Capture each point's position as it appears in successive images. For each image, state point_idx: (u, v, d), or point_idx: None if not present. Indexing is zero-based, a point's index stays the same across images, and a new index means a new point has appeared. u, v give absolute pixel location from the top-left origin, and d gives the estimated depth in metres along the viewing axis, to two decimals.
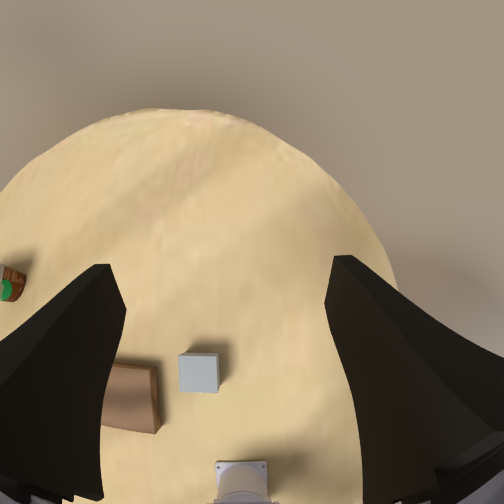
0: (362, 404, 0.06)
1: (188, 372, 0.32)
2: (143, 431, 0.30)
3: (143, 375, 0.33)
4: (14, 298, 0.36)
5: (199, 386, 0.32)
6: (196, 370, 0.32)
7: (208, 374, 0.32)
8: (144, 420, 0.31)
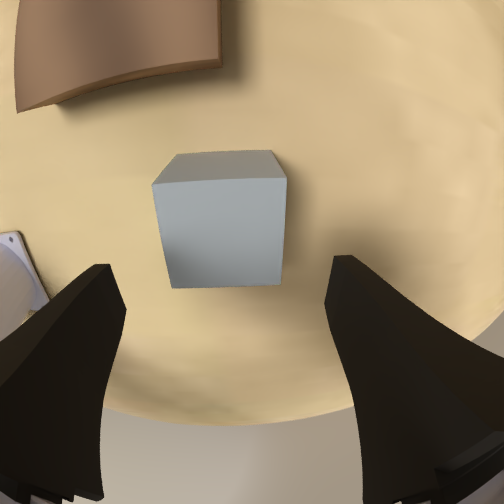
0: (362, 404, 0.06)
1: (227, 212, 0.10)
2: (17, 79, 0.07)
3: (194, 39, 0.08)
4: None
5: (181, 244, 0.11)
6: (236, 236, 0.11)
7: (224, 268, 0.12)
8: (43, 73, 0.07)
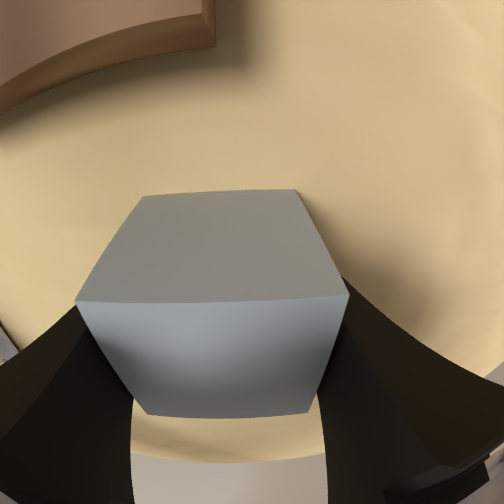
0: (326, 411, 0.06)
1: (224, 351, 0.05)
2: None
3: None
4: None
5: (149, 380, 0.06)
6: (242, 377, 0.06)
7: (222, 405, 0.07)
8: None
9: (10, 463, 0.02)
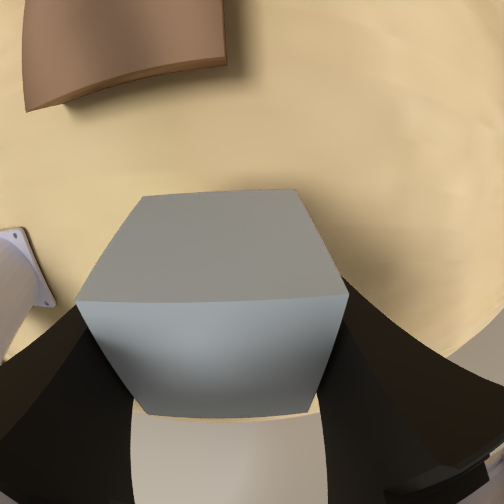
0: (326, 411, 0.06)
1: (224, 350, 0.05)
2: (25, 79, 0.07)
3: (201, 38, 0.08)
4: None
5: (149, 380, 0.06)
6: (242, 376, 0.06)
7: (222, 404, 0.07)
8: (52, 73, 0.08)
9: (10, 463, 0.02)
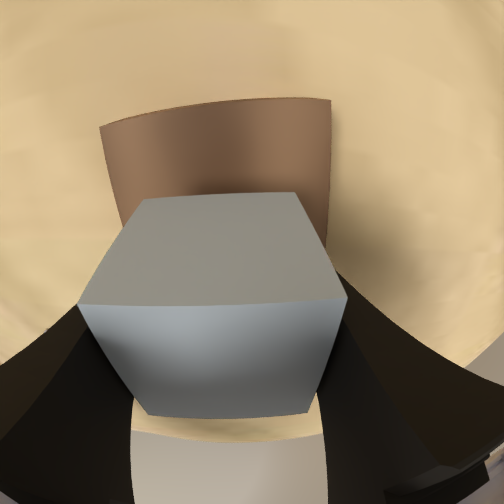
0: (326, 411, 0.06)
1: (225, 352, 0.05)
2: None
3: None
4: None
5: (151, 381, 0.06)
6: (242, 378, 0.06)
7: (223, 405, 0.07)
8: None
9: (10, 463, 0.02)
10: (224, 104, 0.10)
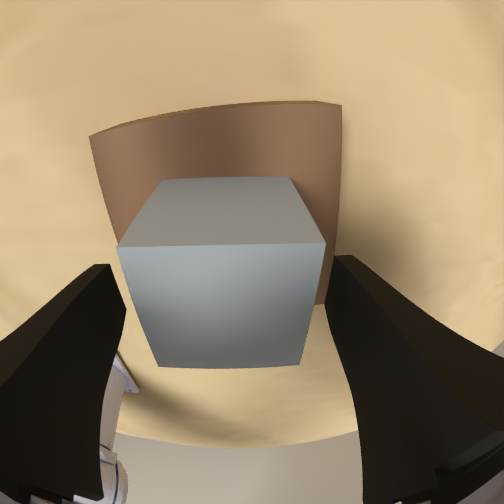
0: (362, 404, 0.06)
1: (232, 290, 0.07)
2: None
3: None
4: None
5: (167, 324, 0.08)
6: (244, 318, 0.07)
7: (226, 351, 0.08)
8: None
9: None
10: (224, 110, 0.09)
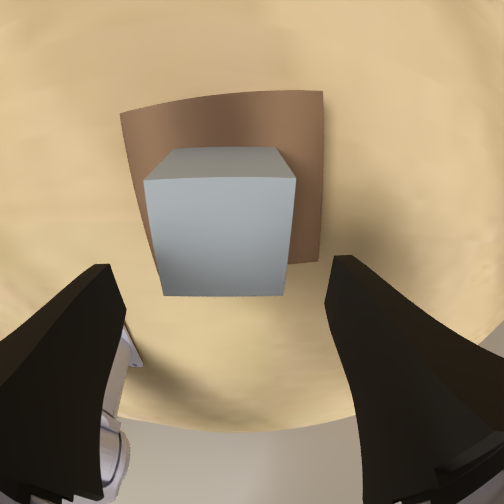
0: (362, 404, 0.06)
1: (227, 215, 0.09)
2: None
3: (305, 250, 0.16)
4: None
5: (175, 248, 0.10)
6: (236, 241, 0.10)
7: (221, 276, 0.11)
8: None
9: None
10: (230, 94, 0.11)
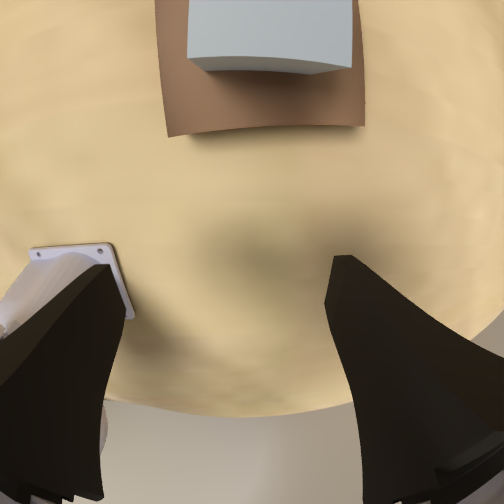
0: (362, 404, 0.06)
1: None
2: (167, 102, 0.11)
3: (350, 108, 0.12)
4: None
5: None
6: None
7: (273, 27, 0.06)
8: (207, 104, 0.11)
9: None
10: None
